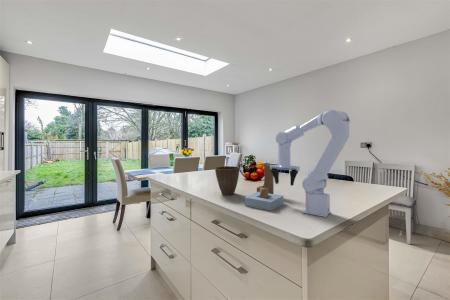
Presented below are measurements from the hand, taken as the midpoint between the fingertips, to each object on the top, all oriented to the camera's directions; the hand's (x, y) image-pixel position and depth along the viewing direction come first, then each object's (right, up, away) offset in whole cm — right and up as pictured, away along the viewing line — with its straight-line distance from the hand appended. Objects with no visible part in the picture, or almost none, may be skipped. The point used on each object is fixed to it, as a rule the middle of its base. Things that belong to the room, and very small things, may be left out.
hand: (284, 184), depth 101 cm
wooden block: (-6, -10, +19) cm, 22 cm away
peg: (-10, -10, 0) cm, 14 cm away
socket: (-10, -10, 0) cm, 14 cm away
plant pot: (-28, -10, +23) cm, 37 cm away
